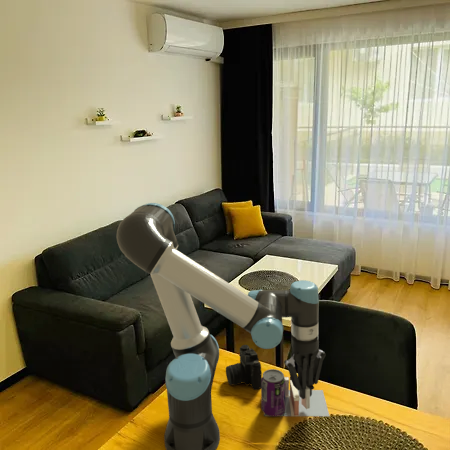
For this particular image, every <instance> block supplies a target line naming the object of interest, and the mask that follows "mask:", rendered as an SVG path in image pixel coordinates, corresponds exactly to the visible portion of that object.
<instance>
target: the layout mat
mask: <svg viewBox="0 0 450 450" xmlns="http://www.w3.org/2000/svg"><path fill="white" fill-rule="evenodd" d="M298 394H299V390H298ZM263 416H264V417H270V416H269V415H267V414H265V413H264V412H263ZM278 417H330V413H329V409H328V404H327V401H326V397H325V395H324V390H323V389H312V395H311V396H310V408H309V409H306V408H305V407H304V406H303V405H302V403H301V397H300V396H299V415H294V410H293V406H292V402H291V397H290V389H289V396H285V412H284V413H283V414H282V415H279V416H278Z"/></svg>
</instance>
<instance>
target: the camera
mask: <svg viewBox="0 0 450 450" xmlns="http://www.w3.org/2000/svg"><path fill="white" fill-rule="evenodd" d="M238 356H239V362H237V363H234V364H230V365H227V366H226V367H225V375H226V379H227V382H228V385H230V386H237V385H240V384H245V385H246V386H249V385H250V386H251V388H252V389H253V390H254V391H257V390H260V389H261V379H262V377H263V373H262V372H263V371H262V364H261V362H260V360H259V356H258V353H257V352H256V351H255V350H254V349H253V348H250V346H249V345H248V344H243V345H241V347H239V355H238Z"/></svg>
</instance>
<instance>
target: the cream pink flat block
mask: <svg viewBox="0 0 450 450" xmlns="http://www.w3.org/2000/svg"><path fill="white" fill-rule="evenodd" d="M290 385H291V389H290V388H289V390H290V397H291V402H292V406H293V410H294V415H299V394H298V390H297V389H296V388H295V387H294V386H293V383H292V380H290V379H289V386H290Z"/></svg>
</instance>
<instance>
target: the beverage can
mask: <svg viewBox="0 0 450 450" xmlns="http://www.w3.org/2000/svg"><path fill="white" fill-rule="evenodd" d="M284 377H285V375H284V372H282V371H281V370H279V369H274V368H273V369H272V368H270V369H267V370H265V371H264V372H263V373H262V379H261V388H260V389H261V392H260V395H261V396H260V397H261V399H260V401H261V402H260V403H261V411H262V412H263V414H264V413H265V414H267V415H269V416H268V417H280V416H279V415H282V414H283V413H284V412H285V378H284Z"/></svg>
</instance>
